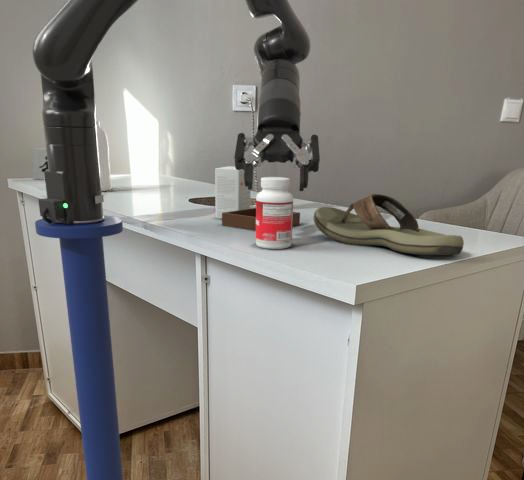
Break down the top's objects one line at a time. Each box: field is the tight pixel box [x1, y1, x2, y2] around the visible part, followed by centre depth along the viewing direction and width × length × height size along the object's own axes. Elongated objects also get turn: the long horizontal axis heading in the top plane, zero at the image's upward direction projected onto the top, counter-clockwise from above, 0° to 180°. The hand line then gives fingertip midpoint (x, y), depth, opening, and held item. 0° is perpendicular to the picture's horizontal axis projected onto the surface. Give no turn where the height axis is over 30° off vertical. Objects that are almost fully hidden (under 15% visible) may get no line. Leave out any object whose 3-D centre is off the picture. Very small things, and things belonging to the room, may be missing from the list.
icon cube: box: [30, 147, 49, 180], centre depth 199 cm, size 10×10×10 cm
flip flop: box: [313, 193, 465, 256], centre depth 95 cm, size 29×12×8 cm, turn 37°
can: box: [95, 118, 112, 193], centre depth 164 cm, size 12×12×20 cm
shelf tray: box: [221, 207, 301, 231], centre depth 114 cm, size 12×11×2 cm
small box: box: [214, 165, 252, 220], centre depth 122 cm, size 8×6×10 cm
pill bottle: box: [255, 176, 294, 250], centre depth 92 cm, size 6×6×11 cm
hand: (275, 187), depth 92 cm, fingers open, 8 cm apart
